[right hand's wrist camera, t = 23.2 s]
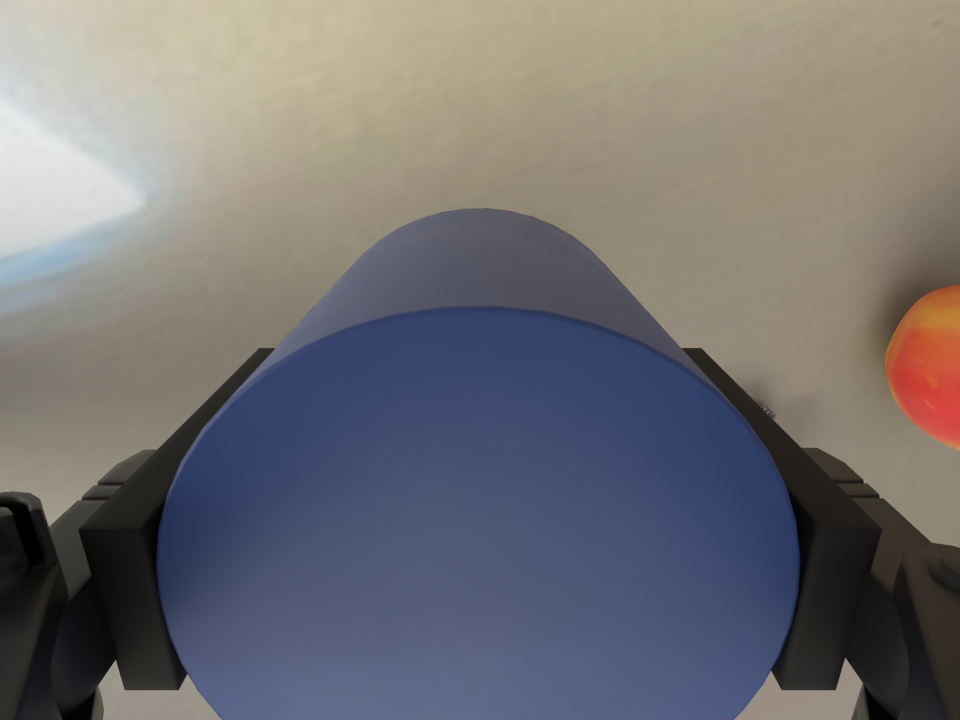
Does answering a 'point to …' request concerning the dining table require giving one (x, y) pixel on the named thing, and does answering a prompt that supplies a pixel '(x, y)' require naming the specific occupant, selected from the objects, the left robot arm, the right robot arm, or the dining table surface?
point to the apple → (929, 364)
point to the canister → (478, 503)
